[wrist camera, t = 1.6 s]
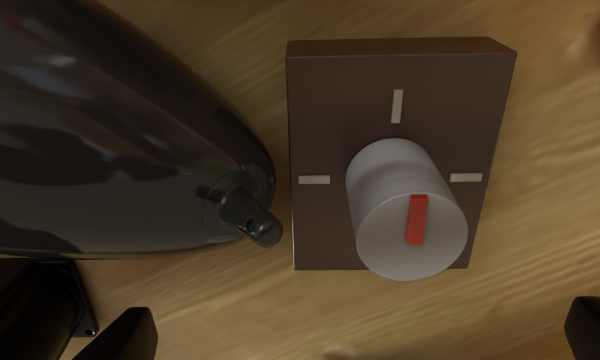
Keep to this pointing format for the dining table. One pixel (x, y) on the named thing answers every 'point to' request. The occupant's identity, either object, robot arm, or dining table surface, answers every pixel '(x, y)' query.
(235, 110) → the black glossy ovoid
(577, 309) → the robot arm
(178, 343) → the dining table surface
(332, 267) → the panel
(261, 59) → the dining table surface
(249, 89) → the dining table surface
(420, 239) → the dial
